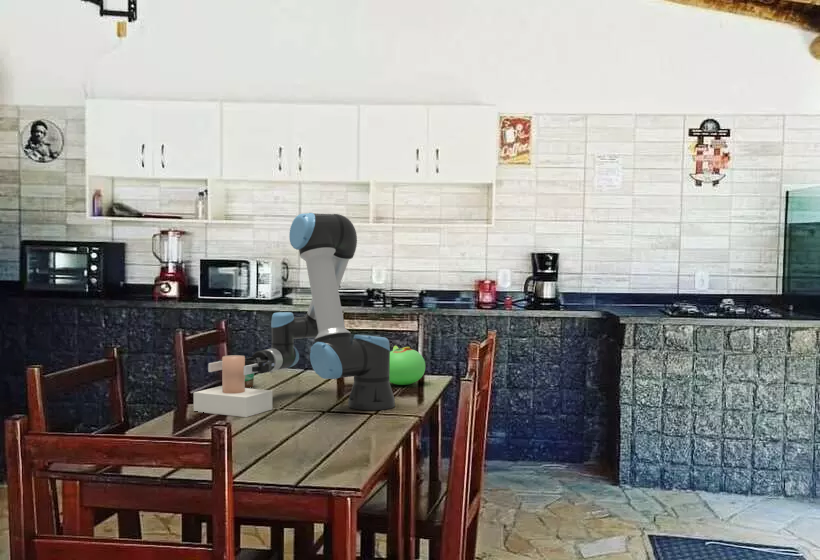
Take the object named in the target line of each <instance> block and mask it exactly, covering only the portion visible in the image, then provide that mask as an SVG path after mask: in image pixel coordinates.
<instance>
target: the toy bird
mask: <svg viewBox="0 0 820 560" xmlns="http://www.w3.org/2000/svg"><path fill="white" fill-rule="evenodd" d="M425 373H426V361H425V358H424V357H423V356H422V354H421V353H420V352H418V351H417V350H415V349H412V348H411V347H410V346H405V347H400V348H399V347H398V346H397V345H394V346H393V348H392V350H390V384H391V383H392V384H394V385H398V386H408V385H411V384H412V385H413V384H414V383H417V382H418V381H419V380H420V379H422V378H423V376H424V374H425Z"/></svg>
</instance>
